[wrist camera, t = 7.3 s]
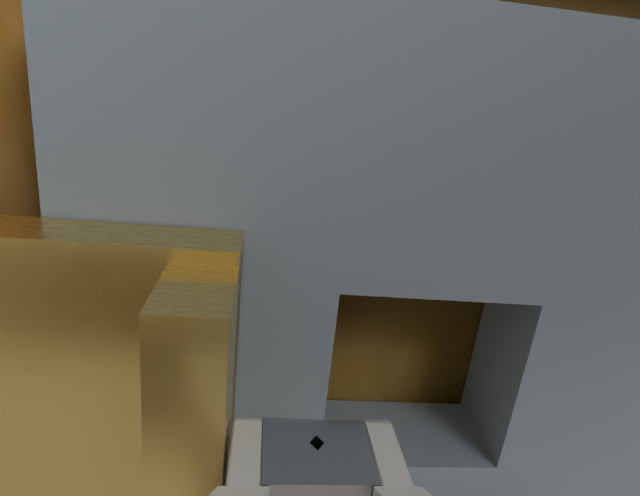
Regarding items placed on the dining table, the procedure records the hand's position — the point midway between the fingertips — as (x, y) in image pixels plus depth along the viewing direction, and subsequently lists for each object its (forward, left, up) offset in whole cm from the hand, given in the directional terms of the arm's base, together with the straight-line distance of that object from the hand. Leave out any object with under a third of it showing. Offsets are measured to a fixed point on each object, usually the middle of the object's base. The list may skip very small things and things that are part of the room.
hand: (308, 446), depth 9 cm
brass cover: (+5, 0, -2) cm, 5 cm away
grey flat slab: (-6, 0, -4) cm, 7 cm away
